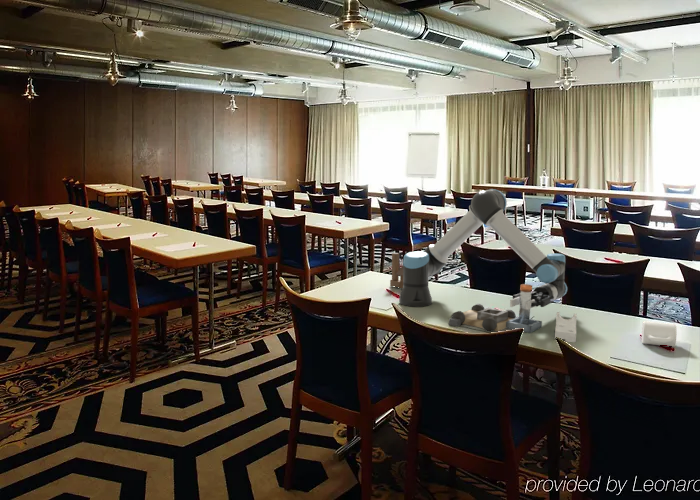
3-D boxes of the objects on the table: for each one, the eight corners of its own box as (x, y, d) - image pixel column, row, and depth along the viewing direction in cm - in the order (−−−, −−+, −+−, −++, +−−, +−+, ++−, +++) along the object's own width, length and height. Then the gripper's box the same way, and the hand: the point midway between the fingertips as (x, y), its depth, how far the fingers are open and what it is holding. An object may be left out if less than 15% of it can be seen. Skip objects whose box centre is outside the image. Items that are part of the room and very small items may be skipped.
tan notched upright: (404, 290, 280) (405, 255, 277) (389, 286, 288) (390, 253, 285) (409, 289, 283) (410, 254, 280) (394, 285, 291) (395, 252, 288)
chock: (448, 324, 219) (448, 318, 219) (452, 323, 221) (452, 317, 220) (457, 326, 216) (457, 320, 216) (460, 325, 218) (460, 319, 218)
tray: (506, 327, 214) (506, 321, 214) (517, 322, 222) (518, 316, 221) (530, 333, 208) (530, 326, 207) (541, 327, 215) (541, 321, 214)
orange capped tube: (516, 325, 214) (518, 285, 212) (521, 323, 218) (523, 283, 215) (526, 327, 211) (529, 287, 209) (531, 325, 215) (534, 285, 212)
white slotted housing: (641, 339, 199) (642, 318, 198) (672, 343, 195) (674, 321, 194) (643, 349, 189) (645, 327, 187) (676, 353, 185) (679, 331, 183)
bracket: (555, 330, 211) (556, 311, 210) (575, 332, 209) (576, 313, 208) (554, 340, 199) (555, 320, 198) (575, 343, 197) (576, 322, 196)
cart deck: (450, 322, 222) (450, 309, 221) (473, 314, 234) (473, 301, 234) (494, 332, 208) (495, 319, 207) (516, 323, 221) (517, 309, 220)
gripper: (566, 306, 220) (541, 318, 204) (523, 299, 233) (496, 309, 216) (567, 288, 219) (542, 299, 202) (523, 282, 232) (497, 291, 215)
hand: (518, 304), depth 209 cm, fingers open, 5 cm apart
